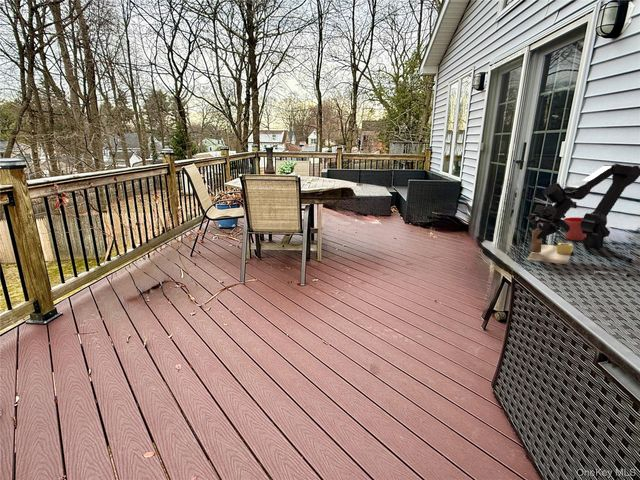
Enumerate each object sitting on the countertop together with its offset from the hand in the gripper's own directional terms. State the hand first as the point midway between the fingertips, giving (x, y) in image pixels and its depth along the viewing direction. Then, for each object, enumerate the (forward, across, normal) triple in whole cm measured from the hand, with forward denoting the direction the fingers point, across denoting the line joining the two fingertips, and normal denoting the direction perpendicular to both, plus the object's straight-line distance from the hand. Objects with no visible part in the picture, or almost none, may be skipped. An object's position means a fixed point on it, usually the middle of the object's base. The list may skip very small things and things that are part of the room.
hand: (533, 237), depth 148 cm
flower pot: (-20, -17, +32) cm, 41 cm away
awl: (+4, 0, +6) cm, 7 cm away
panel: (+1, +2, +11) cm, 11 cm away
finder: (-4, +2, +15) cm, 15 cm away
